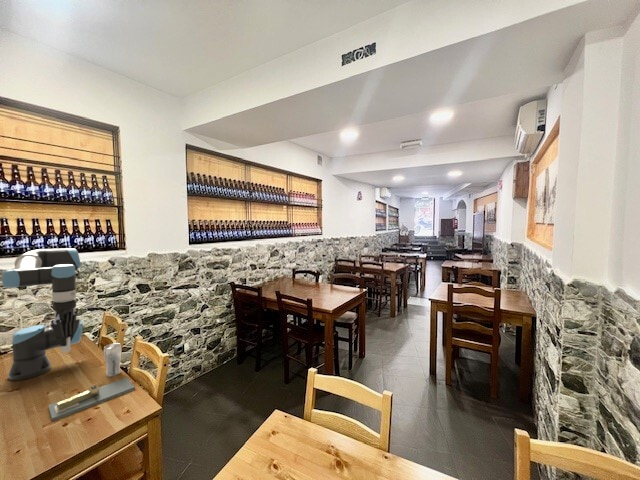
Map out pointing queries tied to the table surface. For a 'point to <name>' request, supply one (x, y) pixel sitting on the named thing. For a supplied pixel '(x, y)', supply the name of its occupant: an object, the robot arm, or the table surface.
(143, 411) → the table surface
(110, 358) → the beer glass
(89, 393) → the latch bar
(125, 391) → the door board
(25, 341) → the robot arm
